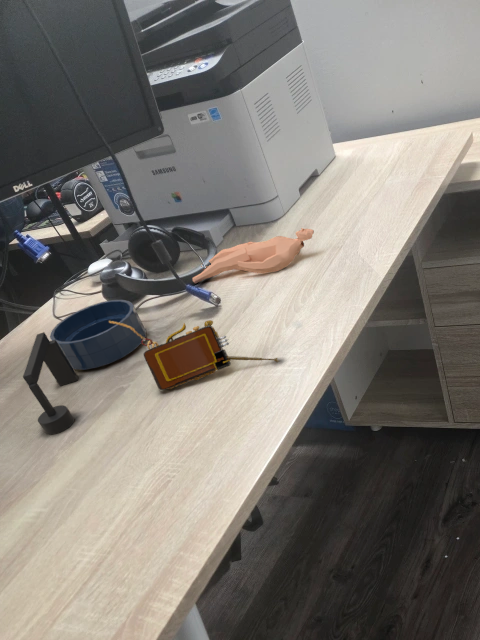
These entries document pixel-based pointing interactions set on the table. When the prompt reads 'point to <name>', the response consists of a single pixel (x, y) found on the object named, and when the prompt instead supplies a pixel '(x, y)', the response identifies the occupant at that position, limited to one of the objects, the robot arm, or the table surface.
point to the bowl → (99, 334)
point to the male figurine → (257, 256)
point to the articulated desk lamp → (63, 373)
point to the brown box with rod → (187, 356)
